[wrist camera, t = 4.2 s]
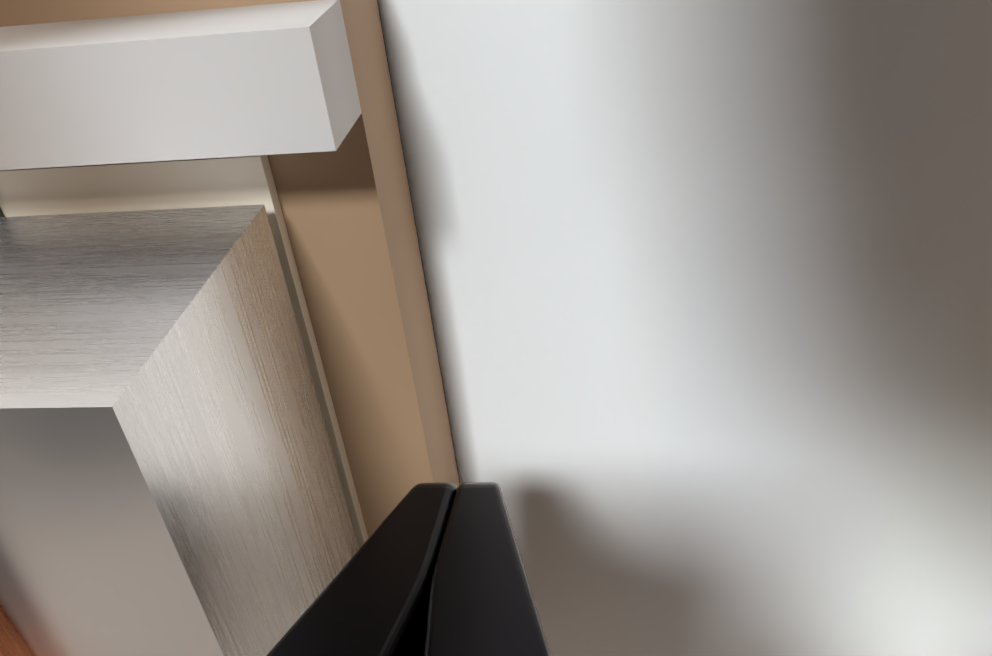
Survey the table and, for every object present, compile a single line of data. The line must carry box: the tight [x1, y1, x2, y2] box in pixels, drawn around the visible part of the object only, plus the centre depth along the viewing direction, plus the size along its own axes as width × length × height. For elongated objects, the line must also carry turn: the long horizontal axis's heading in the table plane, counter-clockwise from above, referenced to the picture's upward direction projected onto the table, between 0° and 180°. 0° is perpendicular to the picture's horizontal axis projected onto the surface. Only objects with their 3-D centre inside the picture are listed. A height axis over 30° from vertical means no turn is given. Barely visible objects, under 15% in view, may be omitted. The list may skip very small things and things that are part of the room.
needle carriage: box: [0, 204, 359, 656], centre depth 9 cm, size 4×8×3 cm, turn 6°
